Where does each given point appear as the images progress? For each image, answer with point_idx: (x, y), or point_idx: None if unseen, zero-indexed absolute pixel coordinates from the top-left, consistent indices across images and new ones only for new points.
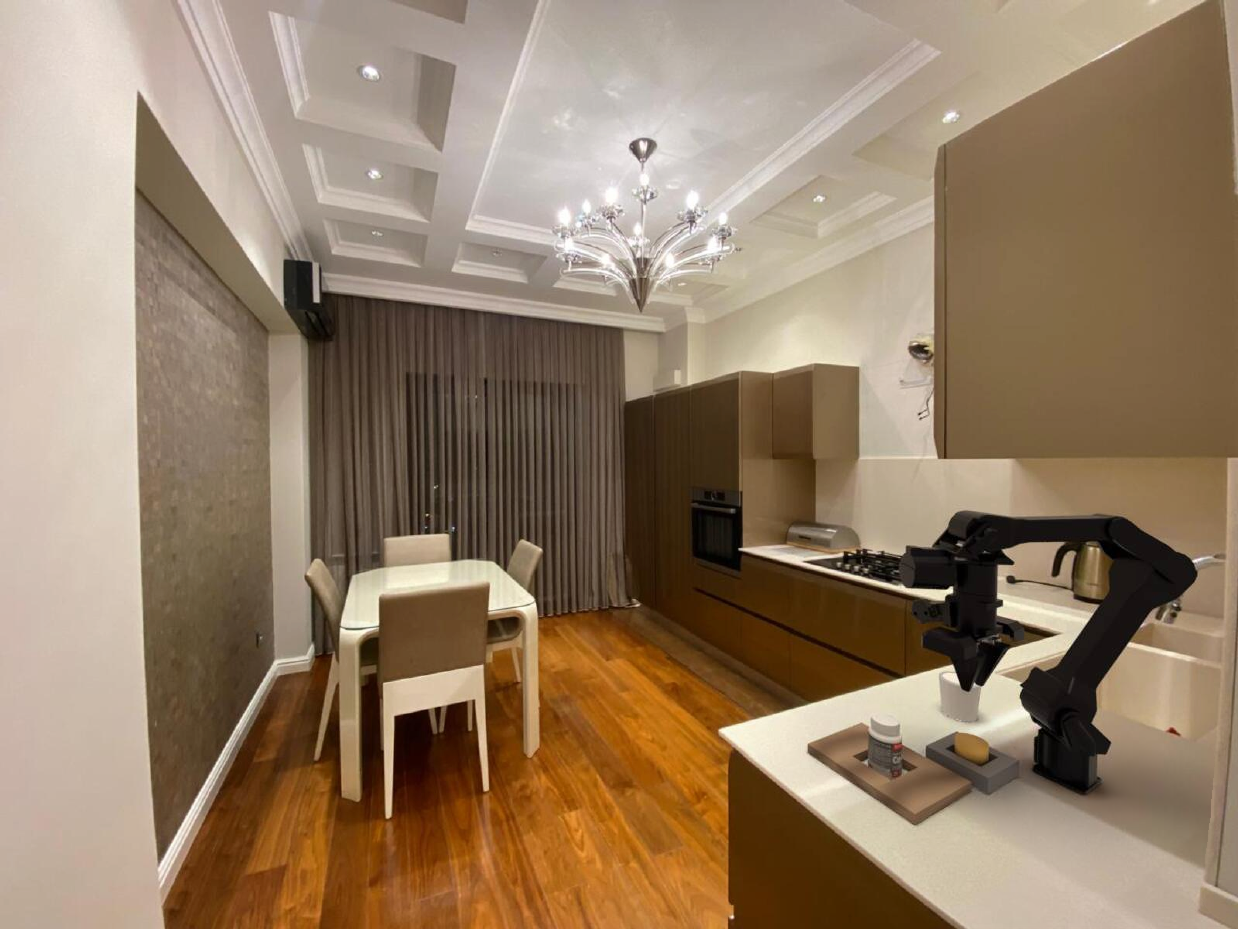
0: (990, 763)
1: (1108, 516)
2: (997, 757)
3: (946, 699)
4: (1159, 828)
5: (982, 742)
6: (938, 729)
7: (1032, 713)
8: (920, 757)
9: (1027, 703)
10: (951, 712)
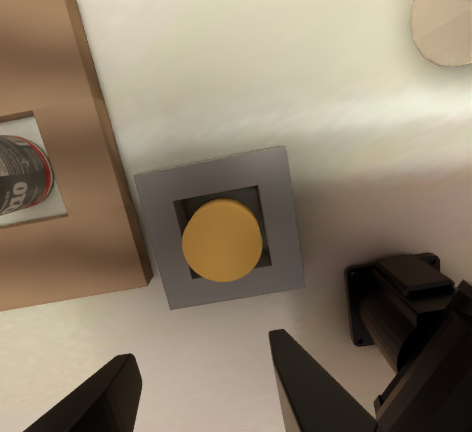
0: None
1: None
2: (272, 262)
3: None
4: (371, 414)
5: (243, 260)
6: (309, 66)
7: (421, 361)
8: (105, 188)
9: (446, 368)
10: (421, 19)
